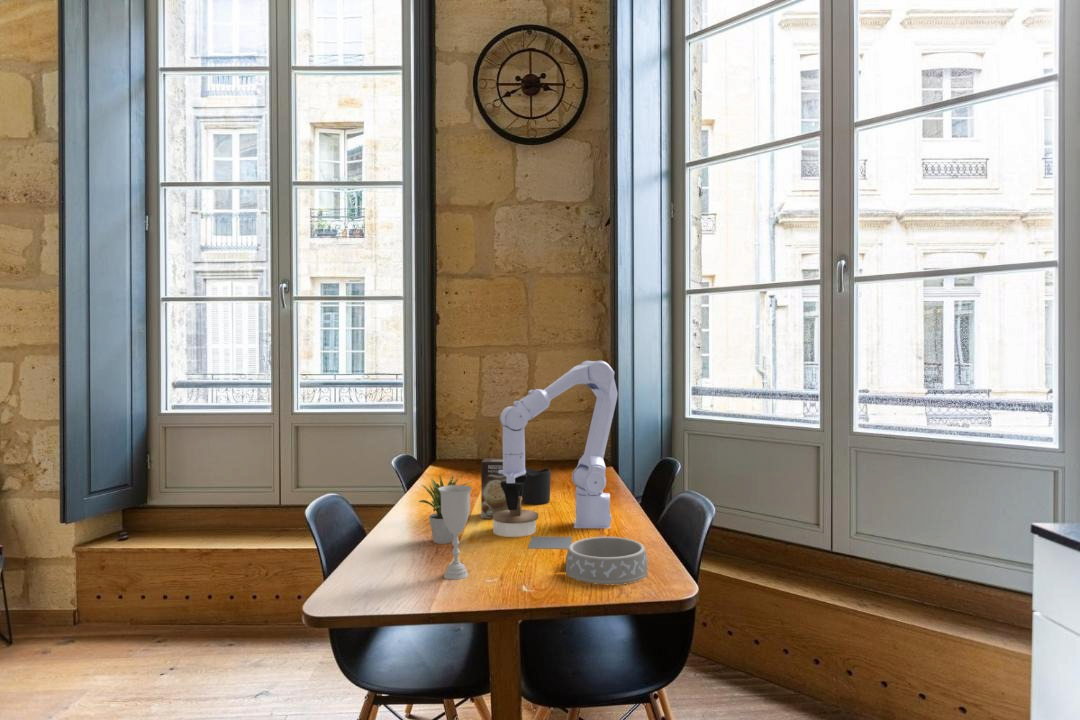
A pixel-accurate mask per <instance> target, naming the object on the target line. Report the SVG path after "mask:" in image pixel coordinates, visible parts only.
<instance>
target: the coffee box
mask: <svg viewBox="0 0 1080 720" xmlns="http://www.w3.org/2000/svg"><path fill="white" fill-rule="evenodd" d="M480 466H481V468H480V469H481V472H480V474H481V476H480V477H481V479H480V480H481V481H480V482H481V483H480V485H481V486H480V487H481V489H480V493H481V494H480V495H481V496H480V499H481V500H480V504H481V505H480V507H481V508H480V509H481V510H480V511H481V512H480V519H493V514H494V513H496V512H499V511H503V510H508V507H507V502H506V498H505V494H504V491H503V489H502V487H501V485H500V482H501V481H506V478H505V476H504V475H503V474H499V473H498V471H499V470H503V458H492V457H491V458H490V457H489V458H487V457H485V458H484V459H482V460H481V465H480Z"/></svg>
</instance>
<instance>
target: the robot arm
mask: <svg viewBox="0 0 1080 720" xmlns="http://www.w3.org/2000/svg"><path fill="white" fill-rule="evenodd" d="M575 385H586V386H587V387H589V388H590V390H591V391H592V393H593V394H594V396H595V397H596V401H595V405H594V408H593V413H592V418H591V421H590V425H589V431H588V433H587V434H588V436H587V440H586V443H585V449H584V453H583V455H582V456H581V457H580V458H579V459H578V463H577V466H576V467H575V468H574V470H573V471H572V475H571V480H572V483H573V484H574V486H575V487H576V488H575V495H574V496H575V520H574V524H573V529H611V522H612V514H611V494H610V493H609V492H603V490H604V489H605V488H606V485H607V478H606V471H607V470H606V469H607V467H606V463H605V460H604V458H605V452H606V448H607V445H608V440H609V435H610V430H611V427H612V423H613V418H614V413H615V409H616V406H617V405H616V404H617V400H618V394H619V393H618V389H617V385H616V380H615V370H613V368H612V367H611V366H610V364H609V363H608V362H606V361H604V360H594V361H593V360H584V361H583V362H581V363H580V364H577V365H576V366H574V367H572V368H571V369H569V370H568V371H567V372H565V373H564V374H563V375H562V376H560V377H559V378H558V379H556V380H555V381H554V382H552V383H550V384H549V385H548V386H547V387H546V388H544V389H539V388H536V389H530V390H528V391H527V392H528V394H527V395H525V396H524V397H522V398H520V399H519V400H515V401H513V406H511V405H510V406H507V407H505V408H504V409H503V410H502V412H501V413H500V416H499V421H500V424H501V426H502V459H503V470H499V471H498V473H499V474H503V475H504V476H505V478H506V481H501V482H500V485H501V487H502V489H503V491H504V494H505V498H506V502H507V507H508V510H517V506H518V499H519V496H521V498H522V491H523V486H524V483H525V480H526V478H527V475H524V474H526V470H525V468H526V436H525V427H526V426H527V424H528V423H529V422H528V421H532V419H534V418H535V417H536V416H538V415H540V414H541V413H543V412H544V411H546V410H547V409H548V408H550V404H551V401H552V400H554V398H556V397H558V396H559V395H561V394H563V393H564V392H566V391H567V390H569V389H570V388H573V387H574V386H575Z"/></svg>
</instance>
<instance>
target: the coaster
mask: <svg viewBox="0 0 1080 720" xmlns="http://www.w3.org/2000/svg"><path fill="white" fill-rule="evenodd" d="M572 543H573V537H572V536H531V539H530V541H529V544H528V546H527V549H533V550H536V549H537V550H538V549H541V550H542V549H544V550H568V548H569V546H570V545H571V544H572Z"/></svg>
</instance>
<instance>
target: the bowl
mask: <svg viewBox="0 0 1080 720" xmlns="http://www.w3.org/2000/svg"><path fill="white" fill-rule="evenodd" d="M492 521H493V523H492V526H493V527H492V529H493V530H492V532H493V534H494V535H496V536H500V537H504V538H505V537H506V538H508V537H509V538H519V537H526V536H527V537H528V536H531V535H533V534H535V533H536V530H537V528H536V527H537V522H536V521H537V520H535V521H532V522H527V523H502V522H497V521H495V520H494V519H493V518H492Z"/></svg>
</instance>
